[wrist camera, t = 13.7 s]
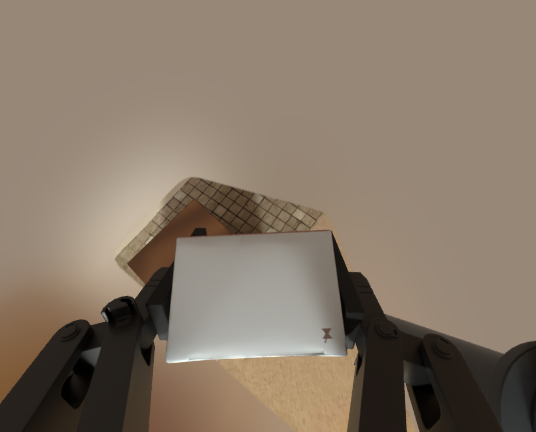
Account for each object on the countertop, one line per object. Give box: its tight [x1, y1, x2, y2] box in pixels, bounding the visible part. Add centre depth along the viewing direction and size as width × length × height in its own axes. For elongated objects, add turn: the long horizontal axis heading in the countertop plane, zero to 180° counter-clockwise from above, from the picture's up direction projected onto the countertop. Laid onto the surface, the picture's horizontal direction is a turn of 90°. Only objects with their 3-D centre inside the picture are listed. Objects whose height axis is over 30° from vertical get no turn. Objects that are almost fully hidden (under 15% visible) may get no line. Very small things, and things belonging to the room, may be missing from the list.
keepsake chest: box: [127, 199, 232, 285], centre depth 32 cm, size 14×12×10 cm
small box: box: [165, 230, 347, 363], centre depth 14 cm, size 8×6×10 cm
